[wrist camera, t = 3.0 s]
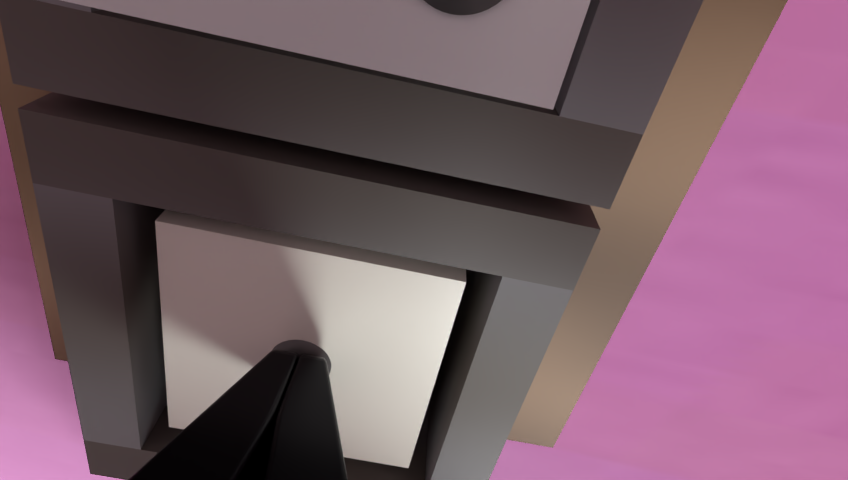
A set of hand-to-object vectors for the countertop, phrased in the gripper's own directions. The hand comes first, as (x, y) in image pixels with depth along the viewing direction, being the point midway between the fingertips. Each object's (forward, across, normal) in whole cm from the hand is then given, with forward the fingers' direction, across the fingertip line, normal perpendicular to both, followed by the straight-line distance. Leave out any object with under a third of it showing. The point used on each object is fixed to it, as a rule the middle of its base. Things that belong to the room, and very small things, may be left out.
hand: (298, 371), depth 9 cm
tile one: (+3, 0, 0) cm, 3 cm away
